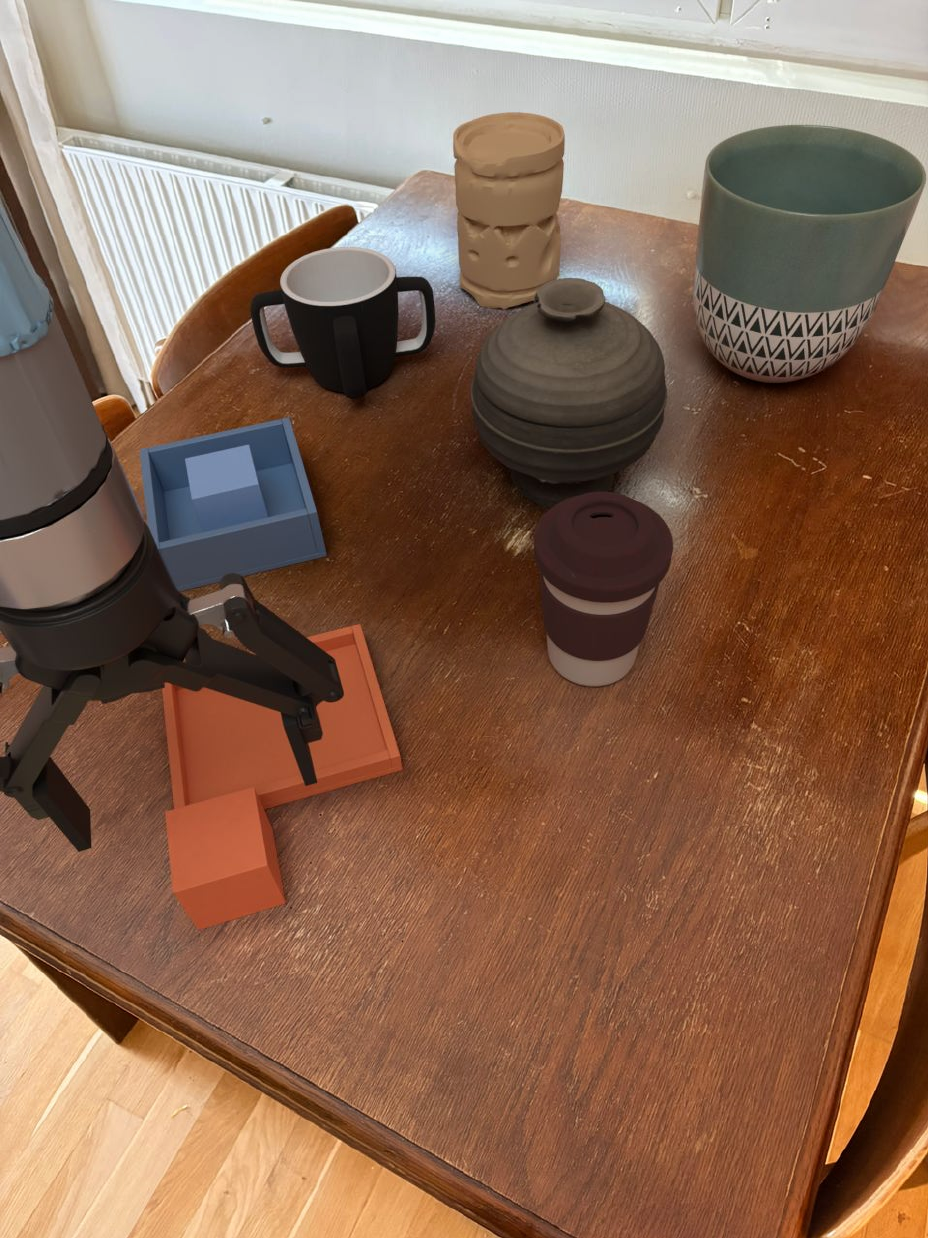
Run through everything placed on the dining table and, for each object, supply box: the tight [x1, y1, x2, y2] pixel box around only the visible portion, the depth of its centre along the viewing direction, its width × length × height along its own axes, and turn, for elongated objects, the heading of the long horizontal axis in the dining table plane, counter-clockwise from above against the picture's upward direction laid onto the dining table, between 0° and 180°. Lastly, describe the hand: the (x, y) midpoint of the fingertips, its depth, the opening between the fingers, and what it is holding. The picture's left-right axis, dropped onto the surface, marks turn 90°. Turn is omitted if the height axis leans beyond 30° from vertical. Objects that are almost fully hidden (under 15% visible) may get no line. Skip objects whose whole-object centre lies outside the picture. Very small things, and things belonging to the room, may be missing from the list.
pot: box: [469, 277, 668, 509], centre depth 82 cm, size 18×18×20 cm
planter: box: [692, 124, 927, 384], centre depth 92 cm, size 20×20×21 cm
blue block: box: [185, 445, 269, 532], centre depth 84 cm, size 6×6×6 cm
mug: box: [249, 246, 436, 400], centre depth 98 cm, size 16×16×12 cm
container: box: [452, 111, 566, 311], centre depth 107 cm, size 13×13×18 cm
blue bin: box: [139, 416, 328, 593], centre depth 85 cm, size 15×15×6 cm
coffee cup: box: [533, 491, 674, 687], centre depth 69 cm, size 10×10×15 cm
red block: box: [164, 787, 286, 931], centre depth 61 cm, size 6×6×6 cm
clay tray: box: [161, 623, 404, 810], centre depth 70 cm, size 17×14×2 cm
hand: (198, 798), depth 55 cm, fingers open, 13 cm apart
